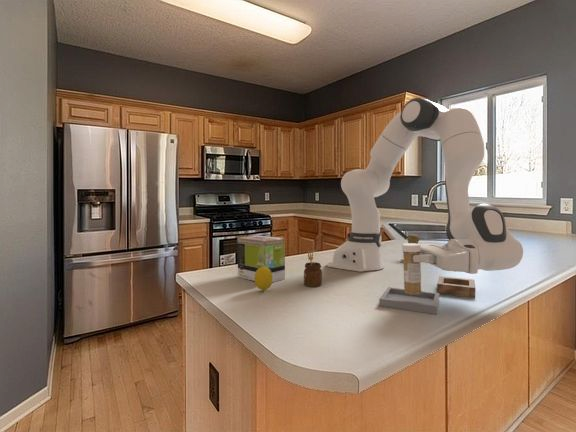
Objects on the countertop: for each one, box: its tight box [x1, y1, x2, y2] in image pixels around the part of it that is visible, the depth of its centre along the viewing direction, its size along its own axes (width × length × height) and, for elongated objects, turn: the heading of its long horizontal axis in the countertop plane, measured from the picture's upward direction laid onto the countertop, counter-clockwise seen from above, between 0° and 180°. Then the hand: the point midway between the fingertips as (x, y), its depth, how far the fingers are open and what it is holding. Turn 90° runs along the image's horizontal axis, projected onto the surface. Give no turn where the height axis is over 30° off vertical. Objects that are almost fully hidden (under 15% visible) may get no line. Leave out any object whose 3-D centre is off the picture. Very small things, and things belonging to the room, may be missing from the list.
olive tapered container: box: [406, 233, 420, 244], centre depth 150 cm, size 6×6×11 cm
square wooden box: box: [436, 275, 476, 298], centre depth 102 cm, size 10×10×3 cm
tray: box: [378, 286, 440, 315], centre depth 91 cm, size 14×12×2 cm
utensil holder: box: [303, 250, 323, 288], centre depth 110 cm, size 6×6×12 cm
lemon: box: [254, 266, 273, 292], centre depth 103 cm, size 6×6×8 cm
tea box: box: [236, 235, 286, 283], centre depth 119 cm, size 15×10×15 cm
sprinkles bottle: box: [402, 242, 422, 295], centre depth 91 cm, size 5×5×13 cm
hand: (408, 256), depth 90 cm, fingers closed on sprinkles bottle, 4 cm apart
